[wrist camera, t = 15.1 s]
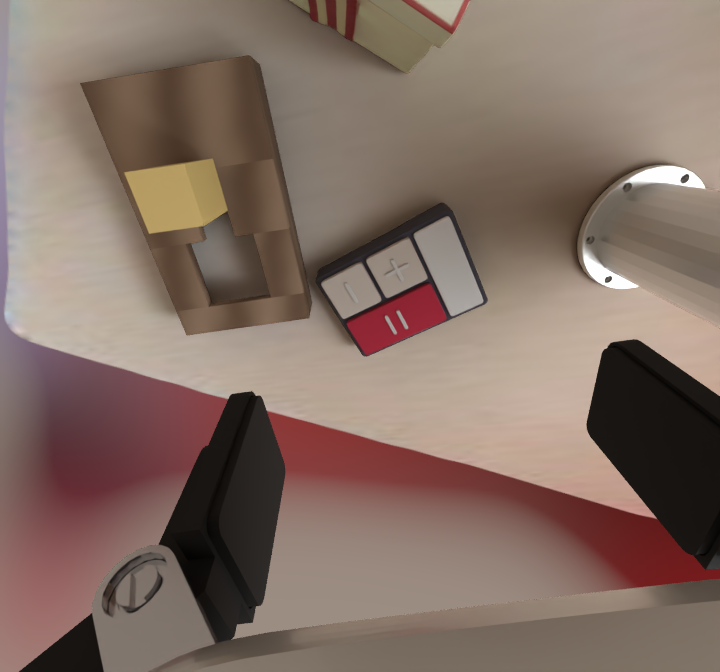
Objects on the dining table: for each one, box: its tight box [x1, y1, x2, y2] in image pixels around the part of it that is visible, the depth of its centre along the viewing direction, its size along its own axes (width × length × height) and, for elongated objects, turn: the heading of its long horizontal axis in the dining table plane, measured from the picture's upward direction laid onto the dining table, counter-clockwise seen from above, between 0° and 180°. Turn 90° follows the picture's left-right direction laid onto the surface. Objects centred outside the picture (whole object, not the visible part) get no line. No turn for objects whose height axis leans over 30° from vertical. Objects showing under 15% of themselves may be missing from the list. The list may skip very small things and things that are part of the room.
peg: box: [124, 159, 228, 234], centre depth 30 cm, size 5×5×12 cm
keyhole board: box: [80, 55, 312, 335], centre depth 34 cm, size 13×22×4 cm, turn 8°
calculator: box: [316, 203, 487, 356], centre depth 39 cm, size 11×4×15 cm
